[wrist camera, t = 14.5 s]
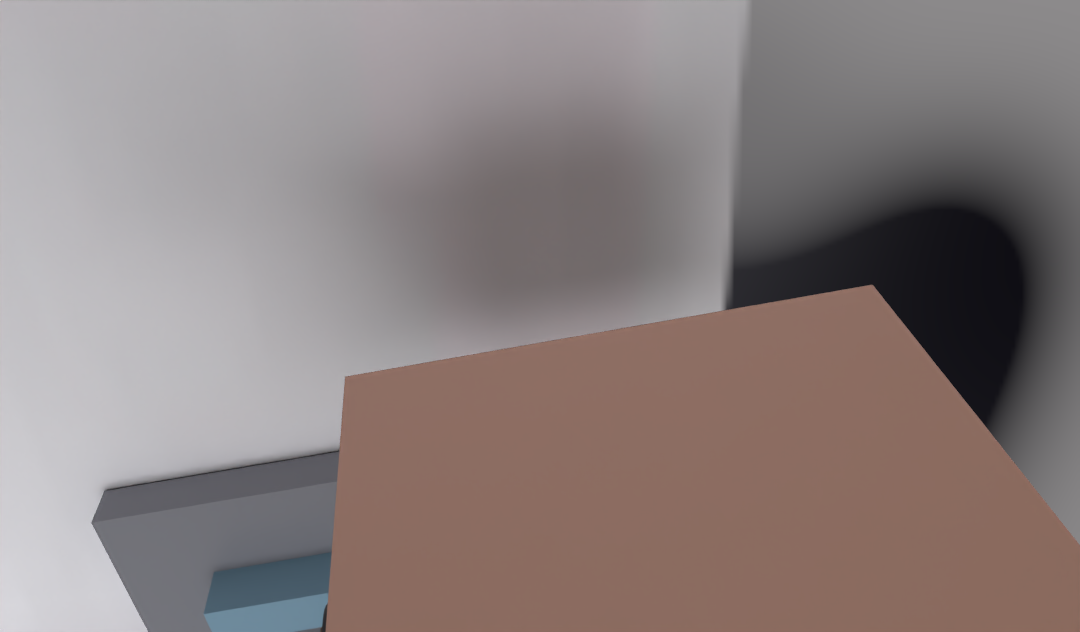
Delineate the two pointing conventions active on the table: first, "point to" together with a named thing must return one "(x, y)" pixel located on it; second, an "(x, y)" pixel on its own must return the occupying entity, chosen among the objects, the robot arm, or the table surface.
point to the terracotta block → (691, 487)
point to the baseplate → (227, 547)
